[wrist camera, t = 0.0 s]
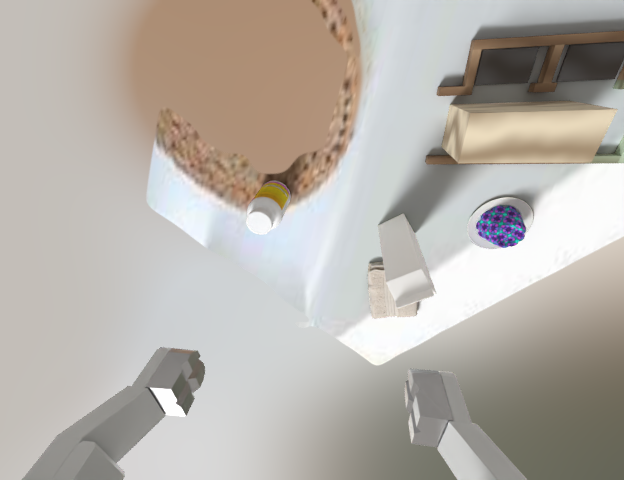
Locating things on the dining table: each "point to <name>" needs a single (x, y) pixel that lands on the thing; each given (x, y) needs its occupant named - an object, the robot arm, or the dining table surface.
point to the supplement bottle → (268, 207)
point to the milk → (404, 262)
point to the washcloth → (384, 295)
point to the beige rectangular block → (526, 132)
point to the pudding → (500, 223)
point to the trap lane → (542, 70)
